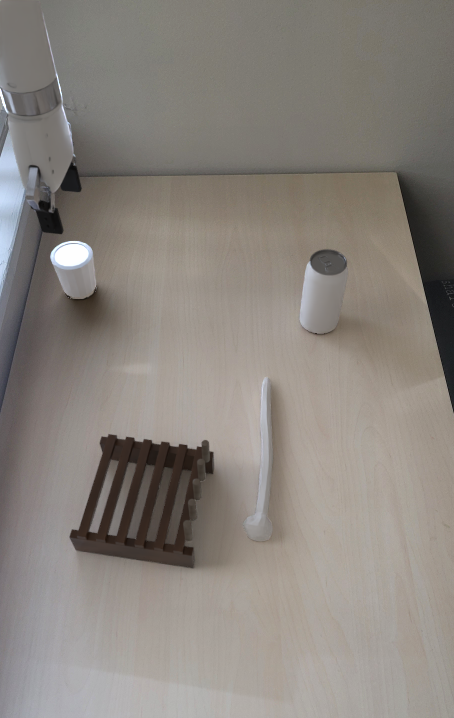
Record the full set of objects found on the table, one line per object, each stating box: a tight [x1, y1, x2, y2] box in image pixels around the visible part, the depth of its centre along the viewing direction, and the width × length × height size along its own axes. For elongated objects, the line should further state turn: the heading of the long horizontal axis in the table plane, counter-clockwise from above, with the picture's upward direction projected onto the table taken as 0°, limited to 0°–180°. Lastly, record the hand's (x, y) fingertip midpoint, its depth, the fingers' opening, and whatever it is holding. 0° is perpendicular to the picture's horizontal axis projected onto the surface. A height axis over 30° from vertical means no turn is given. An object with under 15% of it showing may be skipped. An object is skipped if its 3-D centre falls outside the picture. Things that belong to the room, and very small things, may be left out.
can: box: [298, 248, 349, 335], centre depth 100 cm, size 6×6×12 cm
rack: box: [68, 433, 215, 569], centre depth 85 cm, size 16×16×9 cm
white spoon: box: [242, 376, 274, 542], centre depth 91 cm, size 28×4×3 cm, turn 178°
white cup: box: [49, 240, 97, 297], centre depth 106 cm, size 7×7×7 cm
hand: (62, 210), depth 97 cm, fingers open, 9 cm apart
